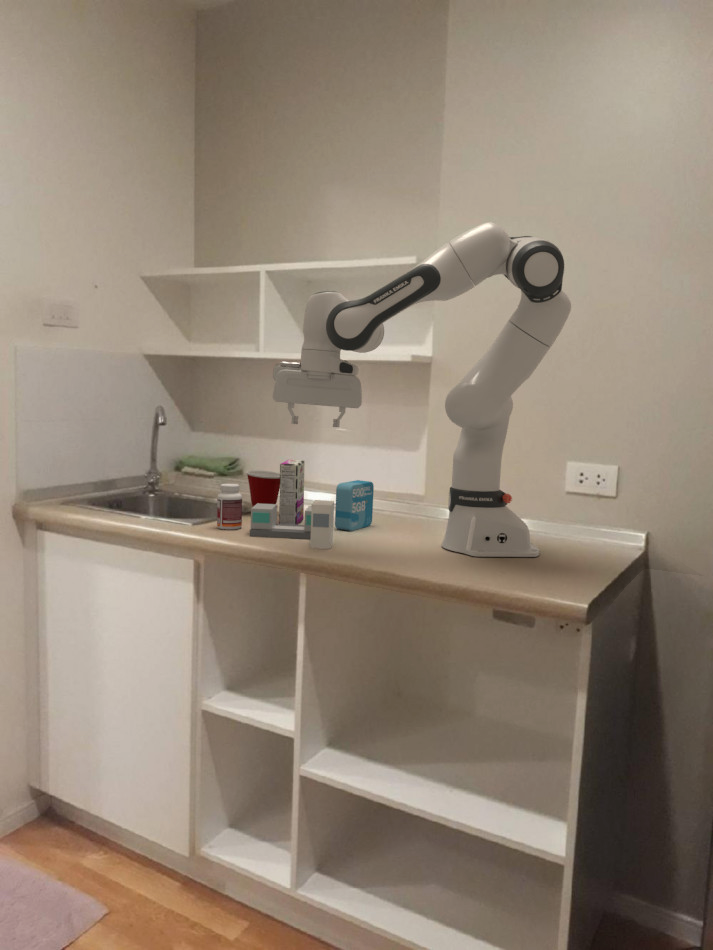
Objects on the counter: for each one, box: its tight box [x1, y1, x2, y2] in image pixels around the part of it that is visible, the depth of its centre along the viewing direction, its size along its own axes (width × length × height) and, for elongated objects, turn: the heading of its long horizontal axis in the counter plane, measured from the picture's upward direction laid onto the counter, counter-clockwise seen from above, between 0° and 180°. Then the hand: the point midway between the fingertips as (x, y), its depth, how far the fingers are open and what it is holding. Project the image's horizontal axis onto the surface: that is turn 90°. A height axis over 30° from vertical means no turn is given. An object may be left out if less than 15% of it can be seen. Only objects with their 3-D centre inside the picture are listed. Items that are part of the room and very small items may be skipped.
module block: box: [309, 499, 335, 550], centre depth 171 cm, size 4×7×10 cm, turn 177°
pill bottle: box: [216, 483, 243, 531], centre depth 187 cm, size 6×6×11 cm
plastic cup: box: [245, 469, 280, 508], centre depth 209 cm, size 11×11×12 cm
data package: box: [334, 479, 375, 532], centre depth 195 cm, size 12×4×12 cm, turn 150°
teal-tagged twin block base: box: [249, 503, 312, 540], centre depth 183 cm, size 18×10×7 cm, turn 87°
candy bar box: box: [278, 458, 305, 525], centre depth 198 cm, size 11×5×16 cm, turn 174°
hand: (315, 425), depth 170 cm, fingers open, 8 cm apart
